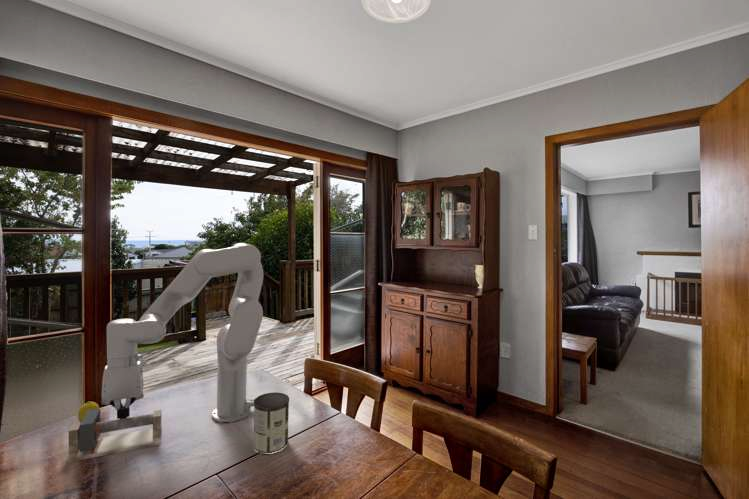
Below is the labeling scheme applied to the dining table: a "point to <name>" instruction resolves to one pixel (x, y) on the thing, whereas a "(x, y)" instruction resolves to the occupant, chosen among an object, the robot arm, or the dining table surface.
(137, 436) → the pipe stand
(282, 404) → the coffee can
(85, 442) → the grey frame
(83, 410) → the lemon
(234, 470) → the dining table surface
